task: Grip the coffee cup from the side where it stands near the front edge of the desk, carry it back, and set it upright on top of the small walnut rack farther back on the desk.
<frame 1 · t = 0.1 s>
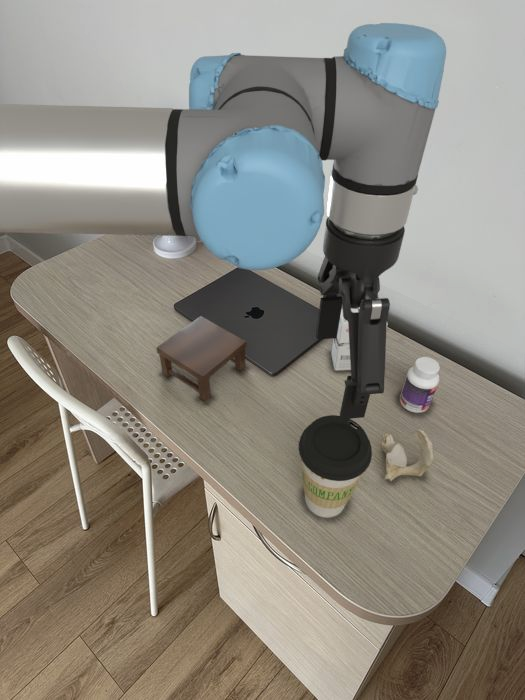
hand: (338, 373, 61), 24 cm above the table, tool pointing down, fingers open, 13 cm apart
pill bottle: (414, 402, 89), on the table
rack: (204, 370, 94), on the table
bone: (395, 470, 79), on the table
ink box: (353, 362, 97), on the table
coffee cup: (325, 499, 75), on the table
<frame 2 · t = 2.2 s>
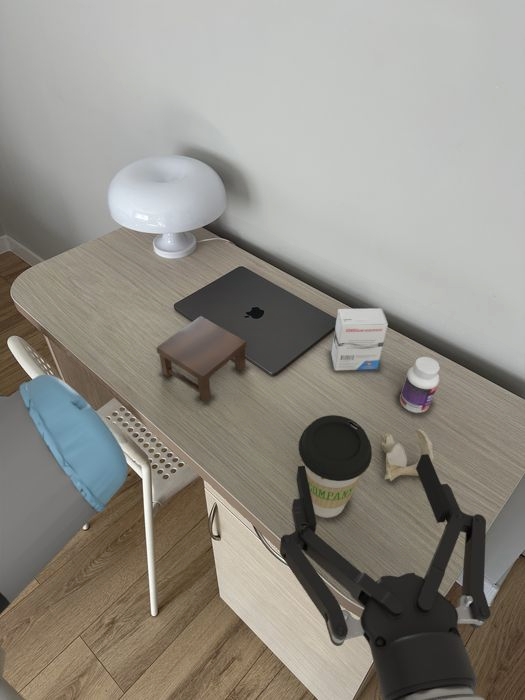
hand: (361, 466, 53), 22 cm above the table, tool horizontal, fingers open, 13 cm apart
nothing on the table moved.
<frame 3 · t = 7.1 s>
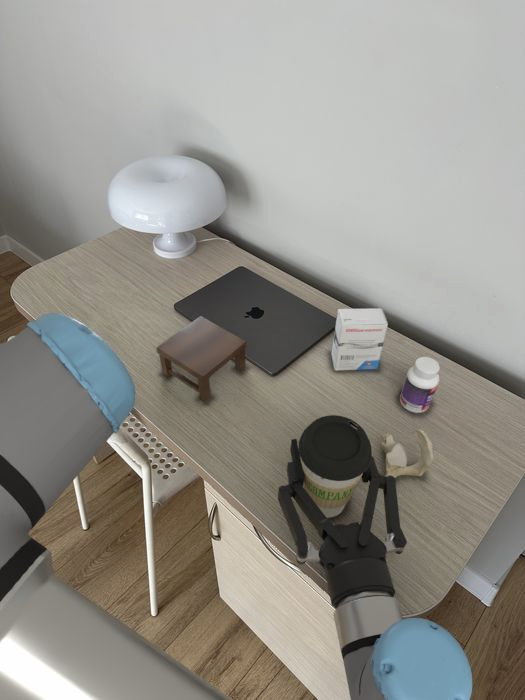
hand: (324, 441, 72), 8 cm above the table, tool horizontal, fingers closed on coffee cup, 9 cm apart
coffee cup: (325, 499, 75), on the table, touching gripper
everything else where it was.
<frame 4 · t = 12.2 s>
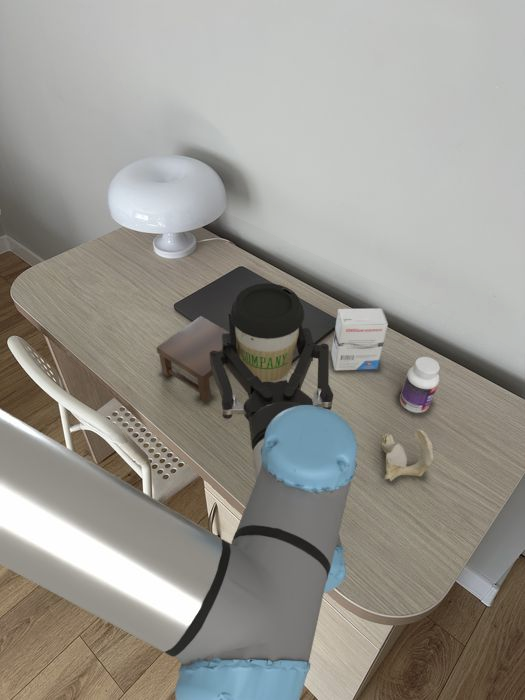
hand: (263, 319, 72), 22 cm above the table, tool horizontal, fingers closed on coffee cup, 9 cm apart
coffee cup: (265, 381, 74), point 13 cm above the table, touching gripper
everything else where it was.
when the fingers open (15 cm above the table, at t = 17.6 s): coffee cup stays where it is, resting on rack.
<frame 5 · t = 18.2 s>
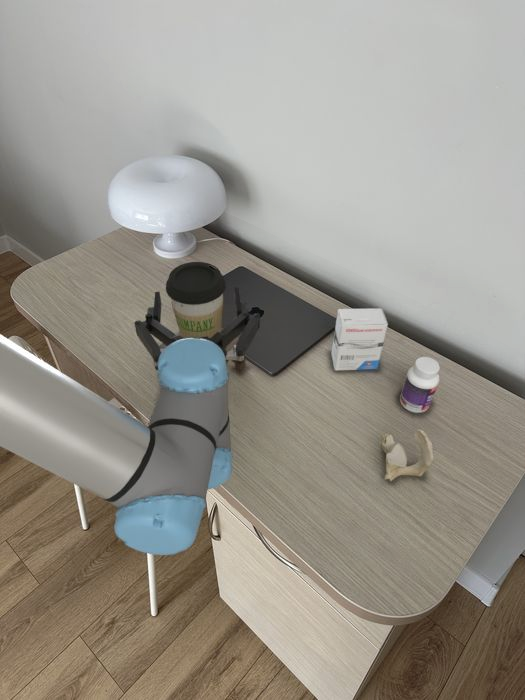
hand: (197, 295, 86), 16 cm above the table, tool horizontal, fingers open, 13 cm apart
coffee cup: (201, 345, 89), point 7 cm above the table, touching rack
everything else where it was.
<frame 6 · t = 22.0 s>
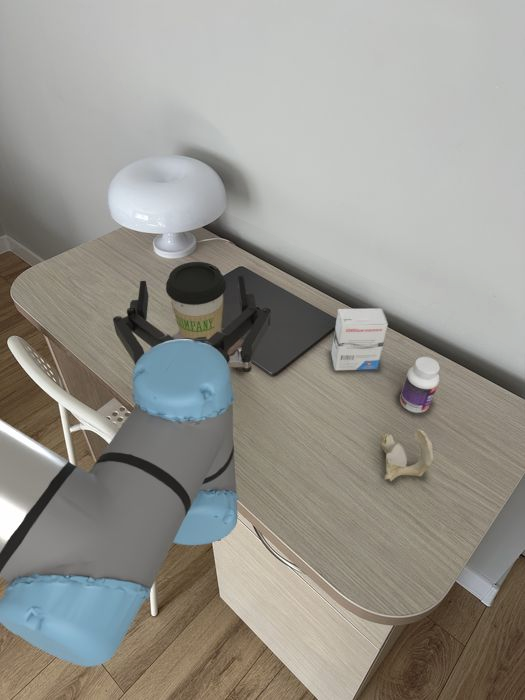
hand: (193, 286, 69), 26 cm above the table, tool horizontal, fingers open, 13 cm apart
nothing on the table moved.
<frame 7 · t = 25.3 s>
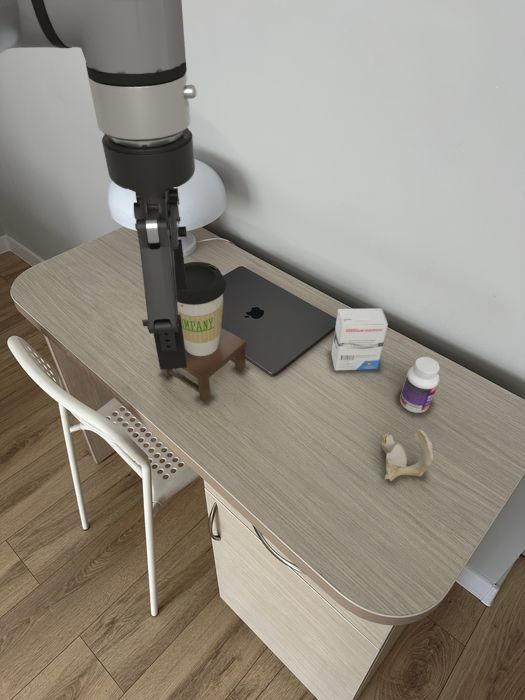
hand: (174, 323, 55), 32 cm above the table, tool pointing down, fingers open, 13 cm apart
nothing on the table moved.
at the end: coffee cup inside the target area on the rack (0.0 cm from its centre), point 6.8 cm above the rack's base; coffee cup tilted 0°; the gripper is holding nothing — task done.
